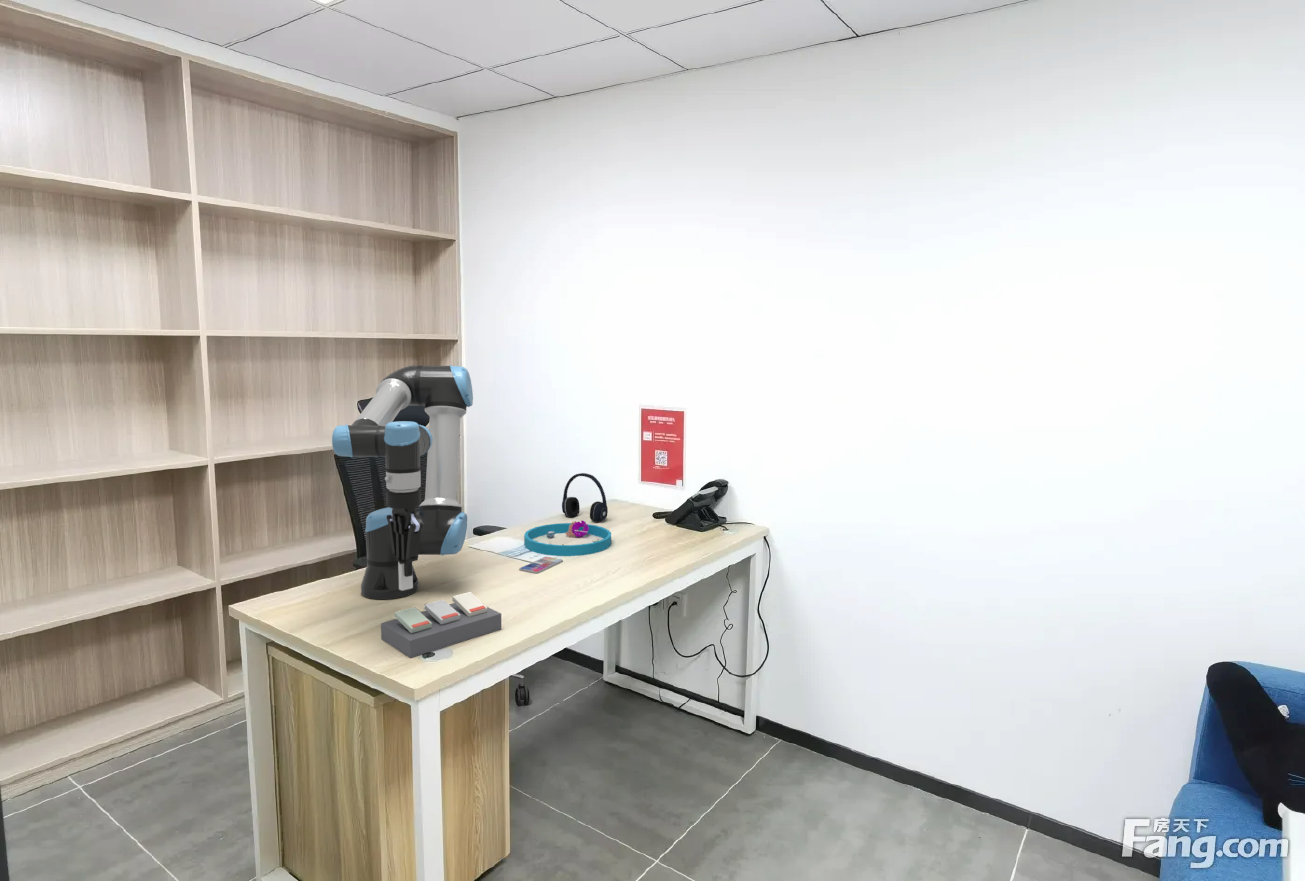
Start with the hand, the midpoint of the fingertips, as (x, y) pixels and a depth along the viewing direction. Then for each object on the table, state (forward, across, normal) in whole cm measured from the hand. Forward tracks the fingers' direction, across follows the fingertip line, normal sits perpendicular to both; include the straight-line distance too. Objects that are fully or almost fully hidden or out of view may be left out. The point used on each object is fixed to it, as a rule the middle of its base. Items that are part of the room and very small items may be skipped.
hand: (405, 588), depth 172 cm
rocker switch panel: (+12, 0, +8) cm, 15 cm away
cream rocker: (+7, +3, +15) cm, 17 cm away
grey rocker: (+7, +3, +8) cm, 11 cm away
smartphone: (+12, -24, +58) cm, 64 cm away
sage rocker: (+7, +3, 0) cm, 7 cm away
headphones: (+11, -61, +107) cm, 123 cm away
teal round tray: (+12, -38, +80) cm, 89 cm away
